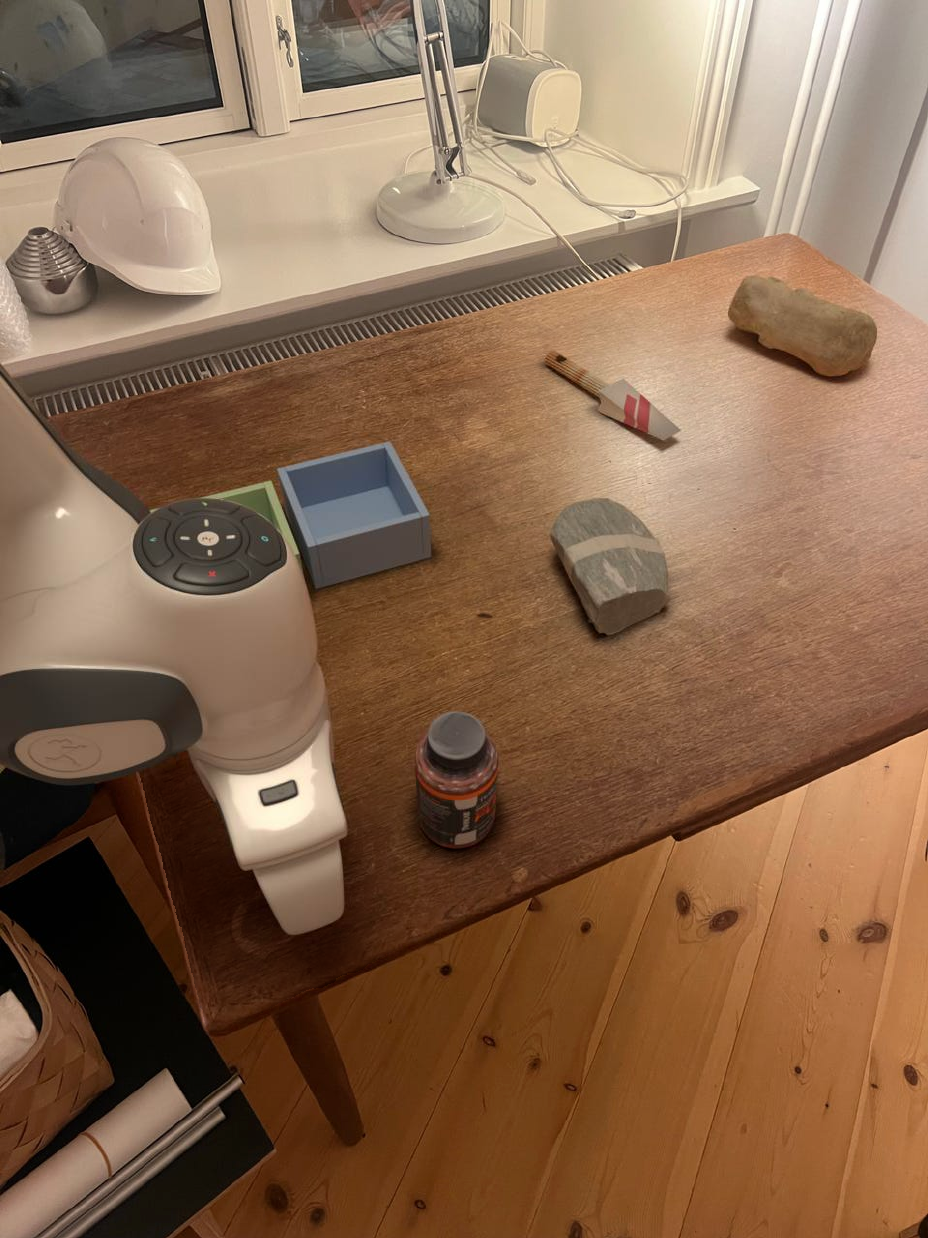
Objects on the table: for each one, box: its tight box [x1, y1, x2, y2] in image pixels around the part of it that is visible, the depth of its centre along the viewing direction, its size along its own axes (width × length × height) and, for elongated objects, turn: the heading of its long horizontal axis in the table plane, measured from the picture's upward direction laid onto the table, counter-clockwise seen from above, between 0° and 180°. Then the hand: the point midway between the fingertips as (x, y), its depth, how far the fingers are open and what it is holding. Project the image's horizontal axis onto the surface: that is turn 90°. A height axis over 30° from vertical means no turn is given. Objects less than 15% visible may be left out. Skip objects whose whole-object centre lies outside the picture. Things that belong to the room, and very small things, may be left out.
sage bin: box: [149, 480, 305, 577], centre depth 85 cm, size 14×11×6 cm
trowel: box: [544, 349, 682, 441], centre depth 104 cm, size 4×3×20 cm
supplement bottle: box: [414, 710, 499, 849], centre depth 67 cm, size 6×6×11 cm
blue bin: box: [276, 440, 432, 590], centre depth 89 cm, size 12×12×6 cm
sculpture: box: [727, 275, 878, 377], centre depth 109 cm, size 9×17×10 cm
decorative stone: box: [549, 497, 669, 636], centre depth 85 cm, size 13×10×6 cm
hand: (287, 833), depth 67 cm, fingers closed on toy creature, 5 cm apart
